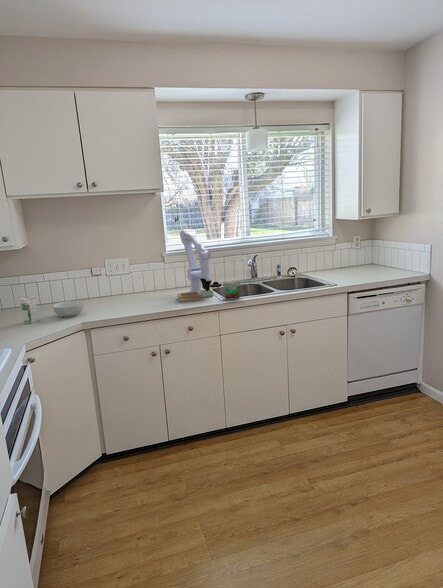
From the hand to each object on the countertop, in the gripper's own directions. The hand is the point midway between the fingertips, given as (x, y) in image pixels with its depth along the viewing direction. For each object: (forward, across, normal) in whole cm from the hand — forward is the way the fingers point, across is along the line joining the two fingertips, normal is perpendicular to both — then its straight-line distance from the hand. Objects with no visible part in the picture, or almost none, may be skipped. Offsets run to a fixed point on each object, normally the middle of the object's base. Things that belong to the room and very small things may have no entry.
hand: (206, 289), depth 266 cm
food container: (+5, +13, +13) cm, 19 cm away
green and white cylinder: (+4, +17, -105) cm, 106 cm away
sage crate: (+4, 0, 0) cm, 4 cm away
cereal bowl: (+4, +11, -85) cm, 86 cm away
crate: (+4, +4, -12) cm, 13 cm away
